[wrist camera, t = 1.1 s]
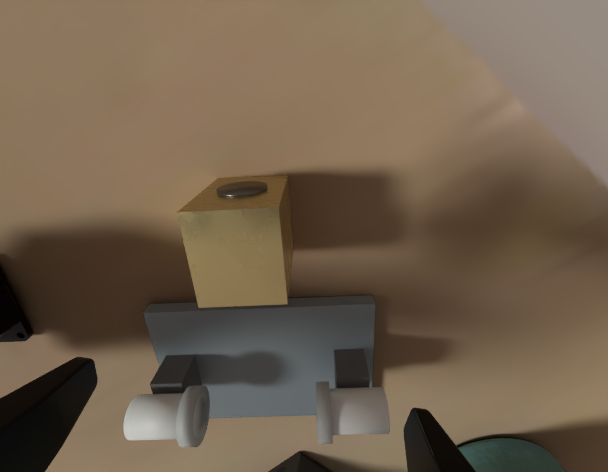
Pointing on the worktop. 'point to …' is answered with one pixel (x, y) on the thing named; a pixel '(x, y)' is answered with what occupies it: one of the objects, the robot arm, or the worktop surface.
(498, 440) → the flower pot
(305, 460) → the phone stand
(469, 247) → the worktop surface
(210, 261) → the tan block
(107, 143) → the worktop surface
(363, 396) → the grey plate with pegs
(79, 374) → the robot arm
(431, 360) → the worktop surface
